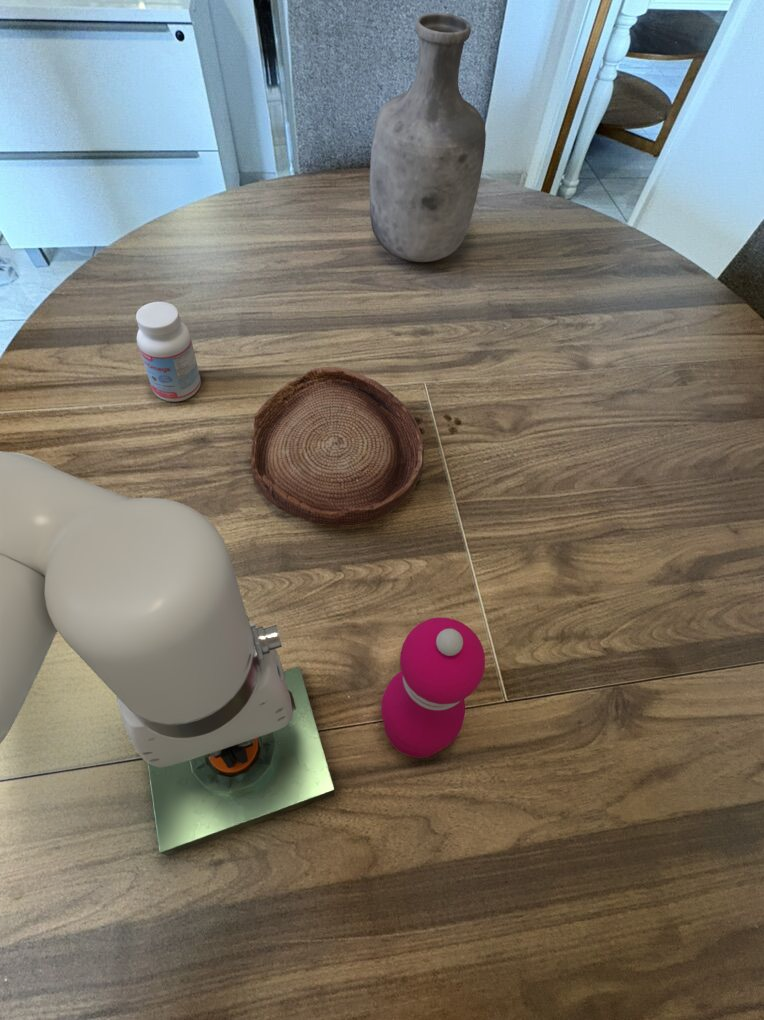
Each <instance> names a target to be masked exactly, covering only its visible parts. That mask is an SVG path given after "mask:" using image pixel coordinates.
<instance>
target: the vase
mask: <svg viewBox="0 0 764 1020" xmlns="http://www.w3.org/2000/svg"><path fill="white" fill-rule="evenodd" d="M414 31H415V34H416V35H417V37H418V49H417V50H418V52H417V63H416V71H415V75H414V79H413V81H412V84H411V85H410V87H409V88H408V89H407V90H406V92H404V93H400V94H398V95H395V96H393V97H391V98H390V99H389V100H387V101H386V102H385V103H384V105H383V106H382V107H381V108H380V109H379V112H378V114H377V117H376V119H375V123H374V127H373V132H372V141H371V142H372V143H371V151H370V164H369V218H370V223H371V224H370V225H371V228H372V233H373V235H374V237H375V239H376V241H377V243H378V244H379V245H380V246H381V247H382V248H383V249H384V250H385V251H387V252H388V253H390V254H391V255H392V256H395V257H398V258H400V259H402V260H405V261H410V262H414V263H415V262H416V263H428V262H435V261H438V260H441V259H444V258H445V257H446V258H447V257H448V256H450V255H451V254H453V253H454V252H456V250H457V249H458V248H459V247H460V246H461V244H462V242H463V241H464V238H465V237H466V236H467V232H468V230H469V226H470V224H471V220H472V217H473V212H474V209H475V205H476V201H477V197H478V192H479V186H480V183H481V178H482V172H483V166H484V159H485V151H486V141H487V133H486V132H487V131H486V125H485V121H484V118H483V116H482V114H481V113H480V112H479V111H478V109H477V108H476V107H475V106H474V105H473V104H471V103H470V102H468V101H467V100H465V99H464V98H463V96H462V94H461V91H460V88H459V73H460V66H461V60H462V55H463V50H464V46H465V42H466V41H468V40H469V39H470V36H471V31H472V25H471V24H470V22H469V21H468V20H467V19H465V18H463V17H460V16H458V15H455V14H451V13H444V12H430V13H425V14H421V15H420V16H418V17H417V18H416V20H415V24H414Z"/></svg>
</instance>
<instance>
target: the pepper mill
mask: <svg viewBox="0 0 764 1020" xmlns="http://www.w3.org/2000/svg"><path fill="white" fill-rule="evenodd" d="M484 650H485V649H484V646H483V645H482V642H481V640H480V638H479V637H478V635H477V634H476V632H475V631H473V630H472V628H470V627H469V626H468V625H466V624H465V623H463V622H462V621H459V620H457V619H454V618H450V617H439V616H438V617H431V618H429V619H426V620H424V621H422V622H420V623H418V624H417V625H415V626H414V627H413V628H412V629H411V630H410V632H409V633H408V634H407V635H406V637H405V639H404V641H403V643H402V645H401V649H400V655H399V666H400V671H399V672H397V673H396V674H395V675H394V676H393V677H392V678H391V680H390V681H389V682H388V685H387V686H386V688H385V689H384V692H383V694H382V698H381V704H380V710H381V718H382V721H383V722H382V723H383V727H384V733H385V735H386V737H387V739H388V741H389V743H390V744H391V745H392V746H393V747H394V748H395V749H396V750H397V751H398V752H400V753H402V754H403V755H406V756H408V757H411V758H418V759H419V758H420V759H421V758H428V757H430V756H431V757H432V756H433V755H435V754H437V753H438V752H440V751H441V750H443V749H445V748H446V747H448V746H449V745H451V744H452V743H453V742H454V741H455V740H456V738H457V737H458V736H459V734H460V732H461V731H462V728H463V725H464V722H465V717H466V699H467V698H468V697H469V696H471V695H472V694H473V693H474V692H475V690H476V689H478V687H479V685H480V684H481V682H482V679H483V677H484V673H485V669H486V655H485V651H484Z"/></svg>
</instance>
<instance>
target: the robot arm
mask: <svg viewBox="0 0 764 1020" xmlns="http://www.w3.org/2000/svg"><path fill="white" fill-rule="evenodd" d="M240 589H241V588H240V586H239V582H238V580H237V576H236V572H235V567H234V565H233V562H232V557H231V555H230V552H229V550H228V547H227V545H226V542H225V539H224V538H223V536H222V535H221V533H220V532H219V530H218V529H217V527H216V526H215V525H214V524H213V523H212V522H211V521H210V520H209V519H208V518H207V517H206V516H204V515H203V514H202V513H200V512H199V511H197V510H196V509H194V508H193V507H192V506H189V505H186V504H184V503H182V502H180V501H176V500H172V499H168V498H159V497H135V498H131V497H128V496H125V495H122V494H120V493H117V492H115V491H112V490H109V489H108V488H104V487H102V486H98V485H96V484H93V483H91V482H88V481H86V480H84V479H82V478H79V477H76V476H74V475H72V474H70V473H66V472H65V471H62V470H60V469H58V468H56V467H54V466H53V465H51V464H49V463H47V462H45V461H44V460H41V459H39V458H37V457H34V456H32V455H29V454H26V453H21V452H16V451H14V452H13V451H1V450H0V745H1V744H2V743H3V742H4V740H5V739H6V737H7V735H8V734H9V732H10V731H11V729H12V728H13V726H14V724H15V722H16V720H17V718H18V716H19V714H20V712H21V710H22V708H23V706H24V704H25V702H26V699H27V697H28V696H29V693H30V691H31V689H32V687H33V685H34V683H35V681H36V679H37V677H38V675H39V672H40V670H41V669H42V666H43V664H44V661H45V659H46V657H47V655H48V653H49V650H50V648H51V646H52V644H53V642H54V640H55V637H56V635H57V633H58V634H59V635H60V636H61V638H62V639H63V641H64V642H65V643H66V644H67V645H68V646H69V647H70V649H72V651H73V652H74V653H75V654H76V655H77V656H78V657H79V658H80V659H81V660H82V661H83V662H84V663H85V665H86V666H88V668H89V669H90V670H91V671H92V672H93V673H94V675H96V676H97V677H98V678H99V679H100V680H101V681H102V682H103V684H104V685H105V686H106V687H107V688H108V689H109V690H110V691H111V692H112V693H113V694H114V695H115V697H116V700H117V705H118V709H119V714H120V718H121V720H122V723H123V726H124V729H125V731H126V733H127V735H128V738H129V740H130V743H131V744H132V746H133V748H134V750H135V751H136V753H137V755H139V757H140V758H141V759H142V760H143V761H144V762H146V763H147V765H148V764H150V765H152V766H155V767H166V766H171V765H175V764H178V763H181V762H185V761H188V760H191V759H194V758H197V757H200V756H205V757H215V758H218V757H221V758H222V759H223V761H224V762H225V764H226V765H227V767H228V768H231V767H234V766H235V764H237V761H238V762H239V763H240V762H241V763H242V764H243V763H246V762H248V758H247V753H246V749H245V748H248V747H251V746H253V742H254V738H257V737H260V736H263V735H266V734H269V733H271V732H274V731H277V730H279V729H281V728H283V727H285V726H287V724H288V723H289V722H290V720H291V718H292V716H293V711H294V710H296V706H295V702H294V698H293V695H292V692H290V691H289V690H288V688H287V684H286V679H285V673H284V671H285V670H284V667H283V664H282V661H281V659H280V656H279V653H278V650H277V649H281V648H282V647H283V646H282V645H283V644H282V642H281V637H280V633H279V629H278V626H277V624H275V625H272V626H268V627H264V626H258V625H256V624H255V623H253V622H250V620H249V617H248V614H247V610H246V607H245V603H244V600H243V597H242V592H241V590H240ZM236 759H237V761H236Z"/></svg>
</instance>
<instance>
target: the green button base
mask: <svg viewBox="0 0 764 1020" xmlns="http://www.w3.org/2000/svg"><path fill="white" fill-rule="evenodd" d="M284 673H285V679H286V684H287V688H288V690H289V691H290V692H292V695H293V698H294V702H295V706H296V710H294V711H293V716H292V718H291V720H290V722H289V723H288V724H287V726H285V727H283V728H281V729H279V730H277V731H274V732H271V733H269V734H266V735H263V736H260V737H257V739H258V741H259V747H260V750H259V756H258V759H257V761H256V762H255V763H254V764H253V765H252V766H251V767H250V769H249V770H248V771H247V772H245V773H242V774H239V775H236V776H226V775H223V774H221V773H220V772H218V771H217V770H216V768H215V767H214V766H213V764H212V763H211V761H210V759H209V757H205V756H200V757H197V758H194V759H191V760H188V761H185V762H181V763H178V764H175V765H171V766H166V767H155V766H152V765H150V764H148V763H147V770H148V777H149V784H150V791H151V798H152V799H151V800H152V806H153V813H154V815H153V816H154V821H155V828H156V835H157V836H156V837H157V843H158V852H159V854H161V855H163V856H165V857H170V856H173V855H176V854H179V853H181V852H184V851H187V850H190V849H192V848H195V847H198V846H201V845H204V844H207V843H209V842H212V841H214V840H217V839H220V838H223V837H225V836H228V835H230V834H231V835H232V834H233V833H237V832H239V831H243V830H244V829H247V828H250V827H252V826H256V825H258V824H261V823H264V822H266V821H269V820H273V819H275V818H277V817H280V816H283V815H286V814H288V813H291V812H293V811H296V810H299V809H302V808H305V807H307V806H311V805H313V804H316V803H318V802H321V801H324V800H327V799H330V798H333V797H334V796H335V791H336V789H335V785H334V782H333V779H332V775H331V771H330V768H329V765H328V764H329V763H328V761H327V758H326V754H325V750H324V747H323V744H322V740H321V736H320V733H319V730H318V726H317V722H316V719H315V714H314V712H313V708H312V705H311V701H310V698H309V694H308V690H307V687H306V684H305V680H304V676H303V673H302V669H301V666H297V667H294V668H291V669H287V670H284Z"/></svg>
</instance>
